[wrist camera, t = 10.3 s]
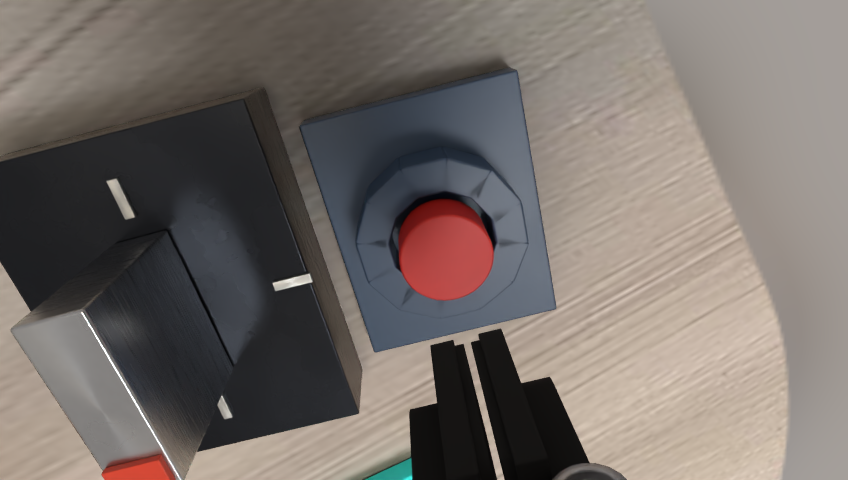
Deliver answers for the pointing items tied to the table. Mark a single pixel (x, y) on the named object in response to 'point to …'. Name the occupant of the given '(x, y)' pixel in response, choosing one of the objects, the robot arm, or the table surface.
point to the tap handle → (131, 359)
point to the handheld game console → (395, 472)
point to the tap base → (198, 248)
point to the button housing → (428, 180)
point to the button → (444, 250)
